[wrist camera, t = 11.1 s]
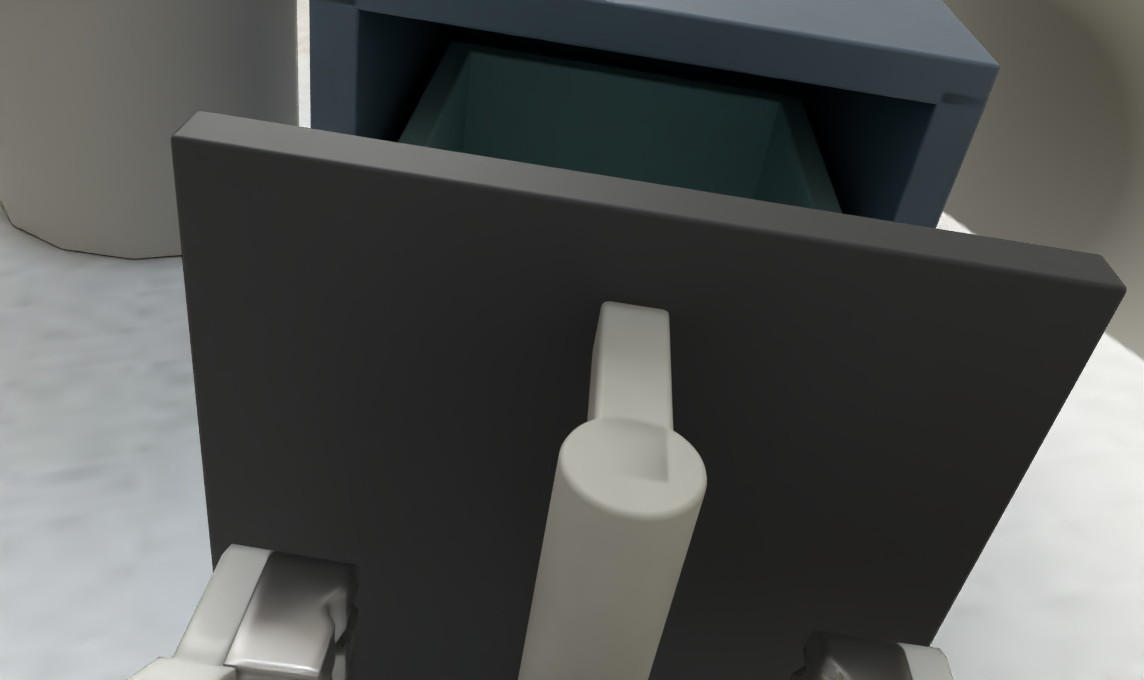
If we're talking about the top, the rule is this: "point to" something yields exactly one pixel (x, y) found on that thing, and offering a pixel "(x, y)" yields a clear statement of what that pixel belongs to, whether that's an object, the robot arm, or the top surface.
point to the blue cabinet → (700, 72)
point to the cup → (127, 108)
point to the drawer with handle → (607, 375)
